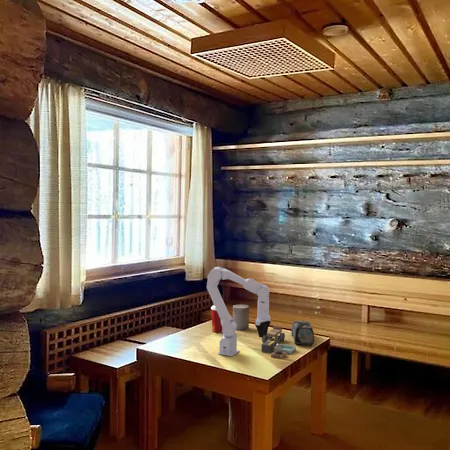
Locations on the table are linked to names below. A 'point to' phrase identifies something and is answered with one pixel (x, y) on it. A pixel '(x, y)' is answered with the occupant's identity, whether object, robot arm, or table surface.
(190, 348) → the table surface
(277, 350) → the pin
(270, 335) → the trolley
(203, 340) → the table surface
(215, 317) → the coffee cup
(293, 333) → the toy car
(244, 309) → the pillar candle
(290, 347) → the tray
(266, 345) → the chock
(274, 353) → the pin holder
